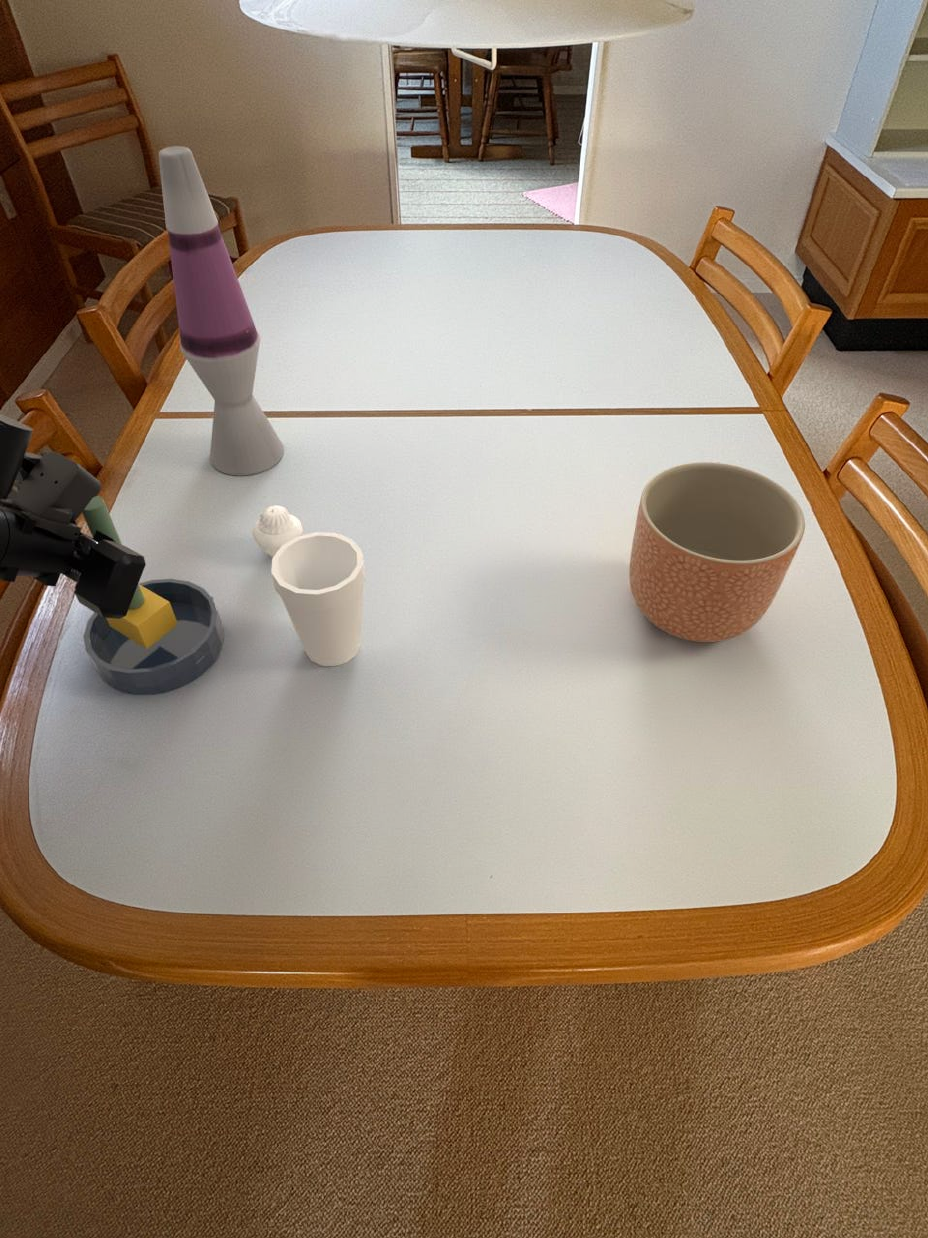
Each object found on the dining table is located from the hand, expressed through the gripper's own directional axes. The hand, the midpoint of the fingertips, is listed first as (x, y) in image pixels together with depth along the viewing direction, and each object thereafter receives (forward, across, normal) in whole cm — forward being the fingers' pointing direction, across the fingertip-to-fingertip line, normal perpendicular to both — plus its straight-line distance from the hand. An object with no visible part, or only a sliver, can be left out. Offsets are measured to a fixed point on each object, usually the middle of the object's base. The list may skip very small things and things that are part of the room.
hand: (130, 561), depth 81 cm
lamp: (+32, +18, -14) cm, 39 cm away
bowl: (+9, 0, +9) cm, 13 cm away
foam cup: (+17, -16, +2) cm, 23 cm away
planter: (+37, -48, -19) cm, 63 cm away
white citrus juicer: (+23, 0, -4) cm, 23 cm away
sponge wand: (+5, 0, +7) cm, 9 cm away
